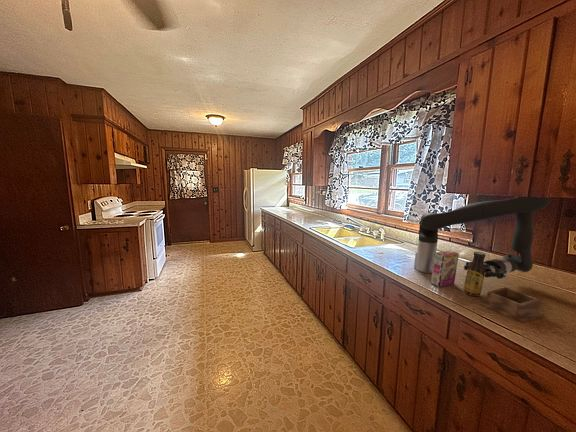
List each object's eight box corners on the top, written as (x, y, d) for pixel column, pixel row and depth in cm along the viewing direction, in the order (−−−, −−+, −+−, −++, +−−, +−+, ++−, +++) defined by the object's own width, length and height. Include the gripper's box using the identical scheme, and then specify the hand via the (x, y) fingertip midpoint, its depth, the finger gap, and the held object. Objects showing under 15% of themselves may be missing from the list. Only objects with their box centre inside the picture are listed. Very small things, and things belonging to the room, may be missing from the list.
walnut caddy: (480, 303, 101) (482, 290, 100) (500, 298, 106) (503, 285, 105) (522, 322, 88) (525, 307, 87) (543, 315, 93) (546, 301, 92)
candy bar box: (439, 287, 115) (443, 255, 112) (430, 283, 120) (433, 252, 117) (455, 284, 119) (459, 252, 116) (445, 280, 124) (449, 249, 121)
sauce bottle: (460, 292, 111) (466, 251, 108) (468, 289, 113) (474, 249, 110) (476, 298, 105) (482, 255, 102) (484, 296, 108) (491, 253, 104)
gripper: (481, 254, 119) (460, 258, 113) (517, 264, 106) (494, 269, 100) (479, 268, 120) (457, 273, 114) (514, 280, 107) (491, 285, 101)
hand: (475, 271), depth 107 cm, fingers open, 8 cm apart
